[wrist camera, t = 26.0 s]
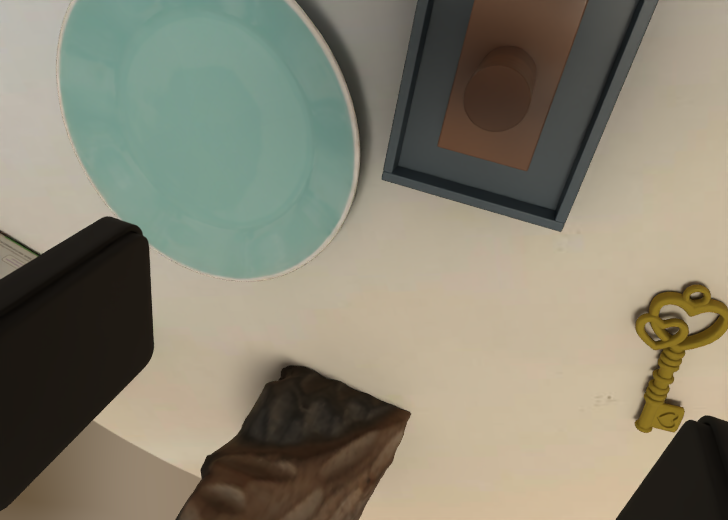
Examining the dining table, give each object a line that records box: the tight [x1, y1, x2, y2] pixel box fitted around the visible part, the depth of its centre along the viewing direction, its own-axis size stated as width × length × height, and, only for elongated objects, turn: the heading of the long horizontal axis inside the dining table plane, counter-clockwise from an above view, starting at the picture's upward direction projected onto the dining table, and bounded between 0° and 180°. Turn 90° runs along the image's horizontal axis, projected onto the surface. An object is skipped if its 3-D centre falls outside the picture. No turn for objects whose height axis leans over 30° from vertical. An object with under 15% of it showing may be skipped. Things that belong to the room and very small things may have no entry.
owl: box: [176, 366, 411, 520], centre depth 42 cm, size 13×13×20 cm
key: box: [635, 285, 728, 433], centre depth 36 cm, size 12×1×5 cm
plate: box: [56, 0, 360, 282], centre depth 37 cm, size 22×22×3 cm
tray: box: [382, 0, 658, 232], centre depth 30 cm, size 15×11×2 cm
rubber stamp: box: [437, 0, 589, 171], centre depth 27 cm, size 9×5×8 cm, turn 170°
